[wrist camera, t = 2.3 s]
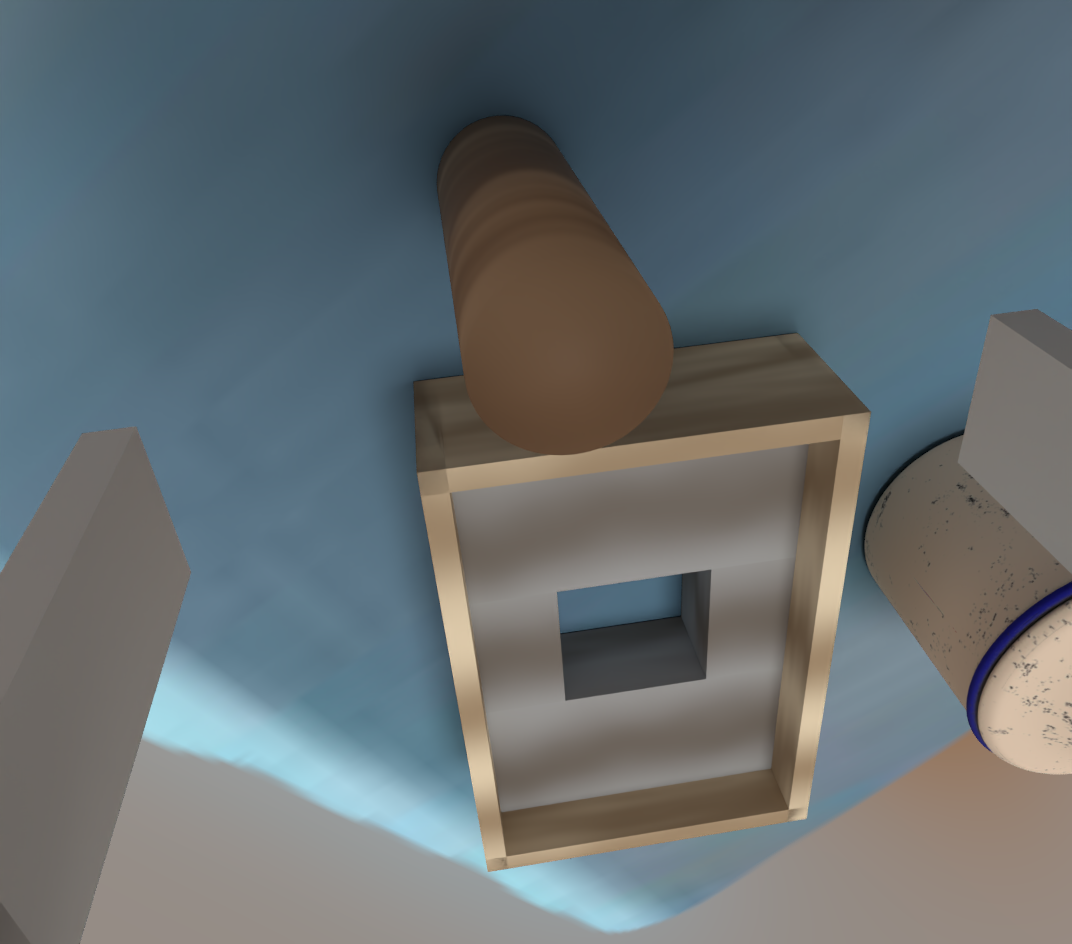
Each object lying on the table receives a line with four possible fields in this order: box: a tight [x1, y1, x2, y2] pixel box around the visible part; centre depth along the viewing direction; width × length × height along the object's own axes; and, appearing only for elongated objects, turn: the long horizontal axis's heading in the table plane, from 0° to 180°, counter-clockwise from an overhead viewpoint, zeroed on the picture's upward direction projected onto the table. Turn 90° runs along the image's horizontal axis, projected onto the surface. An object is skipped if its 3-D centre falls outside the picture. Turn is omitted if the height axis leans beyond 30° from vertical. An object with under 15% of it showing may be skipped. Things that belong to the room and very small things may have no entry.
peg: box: [437, 116, 674, 455], centre depth 21 cm, size 4×4×12 cm
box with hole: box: [414, 333, 871, 872], centre depth 32 cm, size 19×13×6 cm
